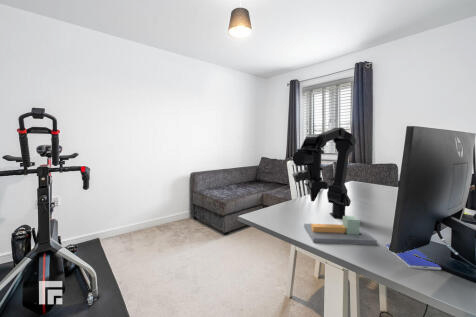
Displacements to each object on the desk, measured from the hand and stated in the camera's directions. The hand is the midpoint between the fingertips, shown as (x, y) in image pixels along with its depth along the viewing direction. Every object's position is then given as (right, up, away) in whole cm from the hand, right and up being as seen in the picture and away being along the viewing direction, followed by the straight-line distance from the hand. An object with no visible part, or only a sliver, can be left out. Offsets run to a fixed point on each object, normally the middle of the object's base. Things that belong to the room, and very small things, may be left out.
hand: (312, 201), depth 92 cm
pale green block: (+12, -12, -8) cm, 19 cm away
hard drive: (+23, -14, -24) cm, 36 cm away
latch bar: (+3, -10, -8) cm, 13 cm away
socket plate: (+7, -12, -8) cm, 16 cm away
